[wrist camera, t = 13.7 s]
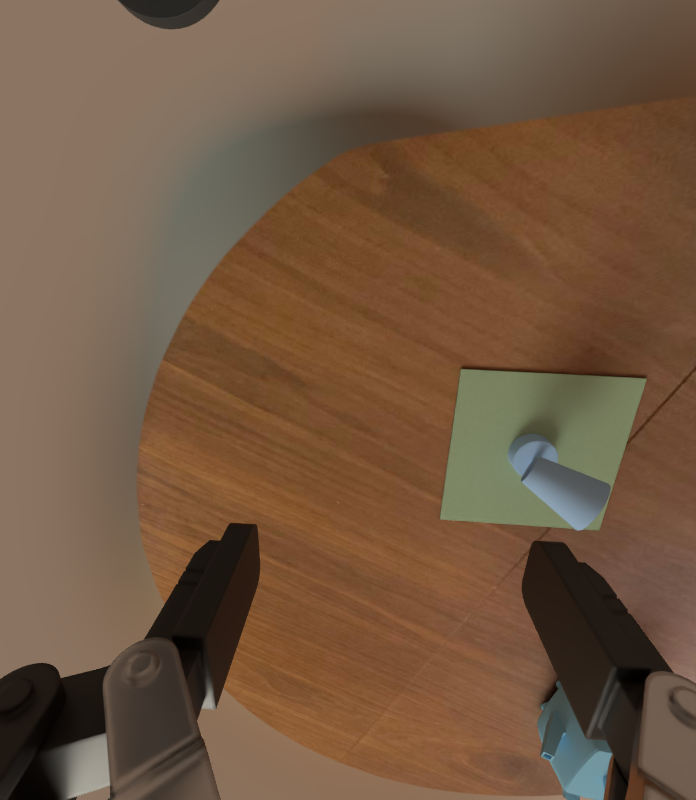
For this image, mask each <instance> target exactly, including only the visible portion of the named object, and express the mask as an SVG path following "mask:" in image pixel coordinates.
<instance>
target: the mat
mask: <svg viewBox="0 0 696 800" xmlns="http://www.w3.org/2000/svg"><path fill="white" fill-rule="evenodd" d="M646 380H647V379H646V378H631V377H612V376H592V375H573V374H553V373H534V372H515V371H495V370H476V369H461V371H460V379H459V386H458V393H457V400H456V407H455V414H454V421H453V428H452V435H451V442H450V449H449V456H448V463H447V470H446V477H445V484H444V491H443V498H442V505H441V513H440V519H443V520H457V521H472V522H486V523H501V524H515V525H529V526H544V527H558V528H572V529H574V528H573V527H572V526H571V525H570V524H569V523H568V522H566V521H565V520H564V519H563V518H562V517H561V516H560V515H558V514H557V513H556V512H555V511H554V510H553V509H552V508H550V507H549V506H548V505H547V504H546V503H545V502H544V501H542V500H541V499H540V498H539V497H538V496H537V495H536V494H534V493H533V492H532V491H531V490H530V489H529V488H528V487H526V486H525V485H524V484H523V483H522V482H521V478H522V476H521V475H519V474H518V473H517V472H516V471H515V469H514V468H513V466H512V465H511V463H510V462H509V459H508V450H509V447H510V445H511V444H512V443H513V441H515V440H516V439H517V438H518V437H520V436H522V435H525V434H539V435H542V436H543V437H545V438H546V439H547V440H548V441H549V442H550V443H551V444H552V445H553V446H554V447H555V448H556V450H557V452H558V462H557V463H558V464H560V465H563V466H565V467H568V468H570V469H573V470H575V471H578V472H580V473H583V474H585V475H588V476H590V477H593V478H596V479H598V480H601V481H603V482H606V483H608V484H609V485H610V488H611V489H610V494H611V491H612V488H613V485H614V482H615V478H616V475H617V472H618V469H619V466H620V463H621V459H622V456H623V453H624V450H625V447H626V443H627V440H628V437H629V434H630V431H631V428H632V424H633V421H634V418H635V415H636V412H637V408H638V405H639V402H640V399H641V396H642V393H643V389H644V386H645V383H646ZM610 494H609V497H610ZM609 497H608V500H607V502H606V504H605V506H604V507H603V509H602V510H601V512H600V513H599V515H598V516H597V517H596V518H595V519H594V520H593V521H592V522H591V523H590V524H589V525H588V526H587V527H585V528H584V529H587V530H599V529H600V526H601V523H602V520H603V517H604V513H605V510H606V507H607V504H608V501H609Z"/></svg>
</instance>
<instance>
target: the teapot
mask: <svg viewBox="0 0 696 800" xmlns="http://www.w3.org/2000/svg"><path fill="white" fill-rule="evenodd" d="M556 686H557V688H558V690H557V692H556V693H555V694H554V695H553V697H552V698H551V699H550V700H549V702H545V703H543V704H542V705H541V709H542V710H543V712H542V714H541V716H540V717H539V720H538V722H537V724H538V731H539V735H540V739H541V741H542V748H541V753H540V756H541V757H543V758H545V759H547V760H549V761H550V763H551V765H552V767H553V769H554V771H555V773H556V775H557V777H558V779H559V781H560V783H561V785H562V787H563V796H564V797H565V798H566V799H567V800H579V799H580V796H582V797H585V798H589V799H594V800H603V799H604V792H605V786H606V779H607V773H608V766H609V761H610V758H611V756H612V751H611V749H610V747H609V745H608V743H607V741H606V740H594V739H586V738H585V736H584V734H583V732H582V729H581V727H580V725H579V723H578V721H577V718H576V716H575V714H574V712H573V709H572V707H571V705H570V703H569V701H568V698H567V696H566V694H565V692H564V690H563V687H562V685H561V683H560V681H557V683H556Z"/></svg>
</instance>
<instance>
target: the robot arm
mask: <svg viewBox="0 0 696 800" xmlns="http://www.w3.org/2000/svg"><path fill="white" fill-rule="evenodd" d="M259 575H260V556H259V541H258V529H257V525H256V524H242V523H230V524H229V525H228V527H227V529H226V531H225V533H224V535H223V537H222V539H221V540H220V541H214V540H209V541H208V542H207V543H206V544H205V545H204V546H202V547H201V548H200V549H199V550H198V551H197V552H195V554H194V555H193V557H192V559H191V561H190V562H189V564H188V566H187V567H186V571H184V572H183V574H182V576H181V578H180V579H179V581H178V585H177V584H176V586H175V588H174V590H173V591H172V593H171V595H170V596H169V598H168V600H167V601H166V603H165V605H164V607H163V608H162V610H161V612H160V614H159V615H158V617H157V619H156V620H155V622H154V624H153V626H152V627H151V629H150V630H149V632H148V634H147V636H146V637H145V638H144V640H142V641H139V642H137V643H135V644H133V645H131V646H130V647H128V648H127V649H125V650H124V651H123V652H122V653H121V654H120V655H119V656H118V657H117V658H116V659H115V660H114V661H113V662H112V664H111V665H109V666H107V667H103V668H100V669H96V670H93V671H89V672H84V673H81V674H76V675H72V676H69V677H64V678H61V677H60V675H59V672H58V670H57V669H56V668H55V667H54V666H53V665H50V664H46V663H36V664H32V665H27V666H24V667H21V668H19V669H17V670H15V671H13V672H11V673H9V674H8V675H6V676H4V677H3V678H1V679H0V800H76V798H77V796H80V795H83V794H86V793H89V792H92V791H95V790H98V789H101V788H104V787H107V786H110V798H108V800H221V799H220V796H219V792H218V789H217V785H216V781H215V778H214V774H213V771H212V767H211V763H210V759H209V756H208V752H207V749H206V746H205V742H204V740H203V738H202V737H201V734H200V731H199V727H198V723H197V719H198V716H199V714H200V711H201V709H215V710H216V708H217V704H218V702H219V699H220V696H221V693H222V690H223V687H224V684H225V681H226V678H227V675H228V672H229V669H230V666H231V663H232V660H233V657H234V654H235V651H236V648H237V645H238V642H239V639H240V636H241V633H242V630H243V627H244V624H245V621H246V619H247V616H248V613H249V610H250V607H251V604H252V601H253V598H254V595H255V592H256V589H257V585H258V581H259ZM522 594H523V599H524V603H525V605H526V608H527V610H528V612H529V614H530V617H531V619H532V621H533V623H534V626H535V628H536V630H537V632H538V634H539V637H540V639H541V641H542V643H543V645H544V648H545V650H546V652H547V654H548V656H549V659H550V661H551V663H552V665H553V667H554V670H555V672H556V674H557V676H558V679H559V681H560V683H561V685H562V687H563V690H564V692H565V694H566V696H567V698H568V701H569V703H570V705H571V707H572V709H573V712H574V714H575V716H576V718H577V721H578V723H579V725H580V727H581V729H582V732H583V734H584V736H585V738H586V739H594V740H606V741H607V743H608V745H609V747H610V749H611V751H612V756H611V758H610V761H609V766H608V773H607V779H606V786H605V792H604V799H603V800H696V683H694V682H692V681H690V680H689V679H687V678H684V677H682V676H680V675H677V674H674V672H673V671H672V670H671V669H670V667H669V666H668V664H667V663H666V662H665V660H664V659H663V658H662V656H661V655H660V654H659V652H658V651H657V650H656V648H655V647H654V645H653V644H652V643H651V641H650V640H649V639H648V637H647V636H646V635H645V633H644V632H643V630H642V629H641V628H640V626H639V625H638V624H637V622H636V621H635V620H634V618H633V617H632V616H631V614H628V612H627V609H626V607H625V606H624V605H623V603H622V602H621V601H620V599H617V595H616V594H615V592H614V591H613V590H612V588H611V587H610V586H609V584H608V583H607V582H606V580H605V579H604V578H603V577H602V576H601V575H600V574H598V573H597V572H596V571H595V570H594V569H592V568H591V567H590V566H589V565H587V564H586V563H581V562H578V561H577V560H576V558H575V557H574V555H573V554H572V552H571V551H570V549H569V548H568V547H567V545H566V544H565V543H563V542H550V541H534V542H533V543H532V545H531V548H530V552H529V556H528V560H527V564H526V568H525V572H524V576H523V580H522Z"/></svg>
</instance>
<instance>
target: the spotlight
mask: <svg viewBox="0 0 696 800" xmlns="http://www.w3.org/2000/svg"><path fill="white" fill-rule="evenodd" d="M508 459H509V462H510V463H511V465H512V466H513V468H514V469H515V471H516V472H517V473H518V474H519V475H521V476H522V478H521V482H522V483H523V484H524V485H525V486H526V487H528V488H529V489H530V490H531V491H532V492H533V493H534V494H536V495H537V496H538V497H539V498H540V499H541V500H542V501H544V502H545V503H546V504H547V505H548V506H549V507H550V508H552V509H553V510H554V511H555V512H556V513H557V514H558V515H560V516H561V517H562V518H563V519H564V520H565V521H566V522H568V523H569V524H570V525H571V526H572V527H573V528H574V529H576V530H582V529H584V528H585V527H587V526H588V525H589V524H590V523H591V522H592V521H593V520H594V519H595V518H596V517H597V516H598V515H599V513H600V512H601V510H602V509H603V507H604V506H605V504H606V502H607V500H608V497H609V494H610V489H611V488H610V485H609V484H608V483H606V482H603V481H601V480H598V479H596V478H593V477H590V476H588V475H585V474H583V473H580V472H578V471H575V470H573V469H570V468H568V467H565V466H563V465H560V464H558V463H557V462H558V452H557V450H556V448H555V447H554V446H553V445H552V444H551V443H550V442H549V441H548V440H547V439H546V438H545V437H543V436H542V435H539V434H525V435H522V436H520V437H518V438H517V439H516V440H515V441H513V443H512V444H511V445H510V447H509V450H508Z"/></svg>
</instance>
